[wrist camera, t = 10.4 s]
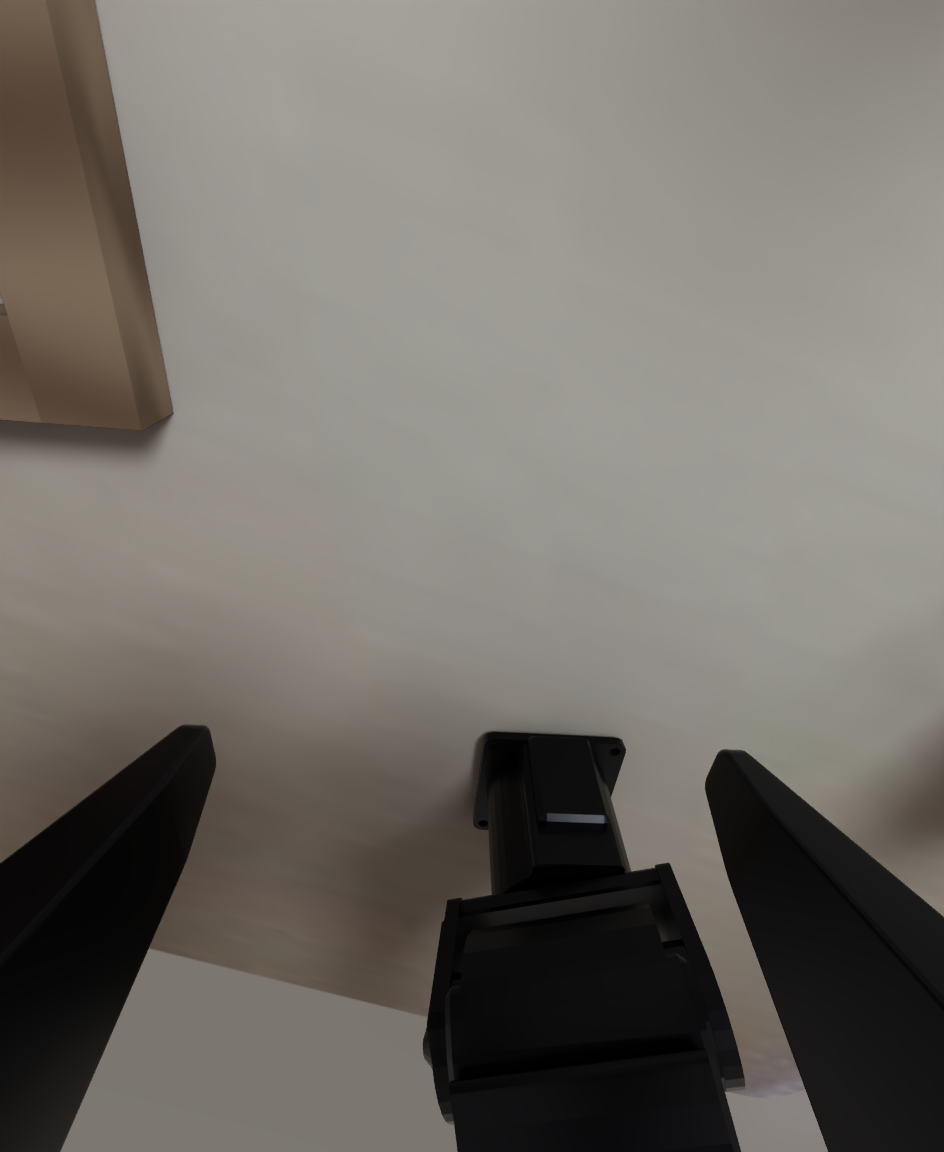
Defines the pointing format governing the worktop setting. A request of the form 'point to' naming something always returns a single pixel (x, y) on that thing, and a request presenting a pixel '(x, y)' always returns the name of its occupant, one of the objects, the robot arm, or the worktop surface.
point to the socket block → (69, 233)
